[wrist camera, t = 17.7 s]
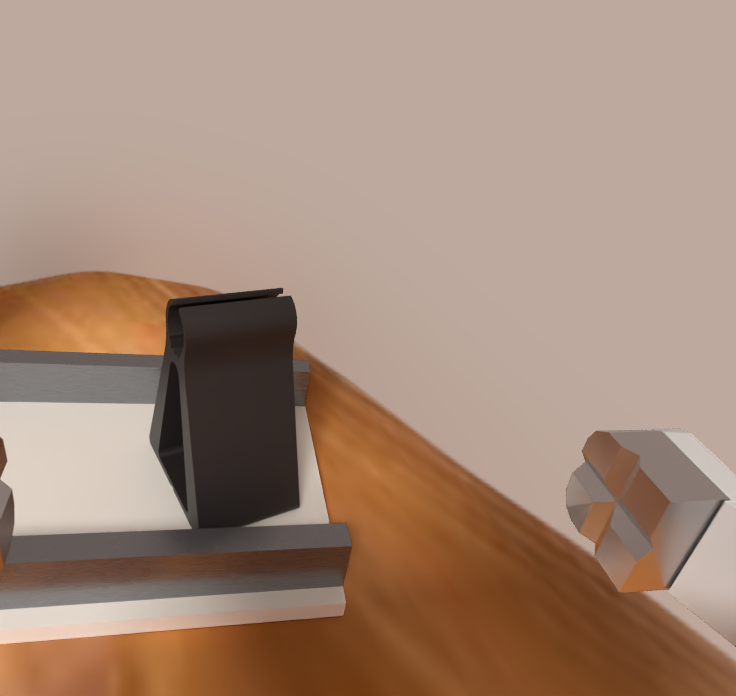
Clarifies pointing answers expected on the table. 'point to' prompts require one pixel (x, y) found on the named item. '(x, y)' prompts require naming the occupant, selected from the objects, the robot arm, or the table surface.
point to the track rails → (158, 547)
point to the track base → (129, 516)
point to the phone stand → (229, 407)
